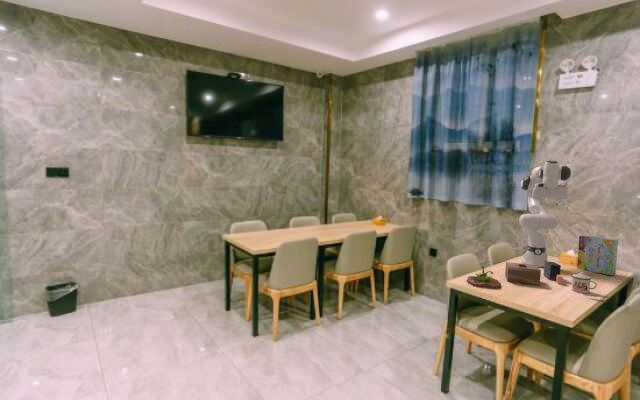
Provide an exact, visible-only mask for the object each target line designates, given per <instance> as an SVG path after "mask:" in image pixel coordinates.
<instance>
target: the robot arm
mask: <svg viewBox="0 0 640 400" xmlns="http://www.w3.org/2000/svg"><path fill="white" fill-rule="evenodd" d="M571 173H572V171H571V168H570V167H568V166H567V165H559V161H558V160H557V161H556V160H546V161H544V165H543V166H536V167H535V168H533V169H532V170H531V175H529V174H528V175H527V176H524V177H523V178H522V179H521V182H520V187H521V189H522V190H523V191H530V192H529V193H528V198H527V206H528V211H529V212H530V213H523V214H521V215H520V216H519V218H518V223H519V225H520V226H521V227H522V228H524V229H525V231H526V233H527V236H528V237H527V238H528V245H527V251H526V252H525V253H523V254H522V255H523V256H522V257H523V258H522V260H521V264H530V265H537V266H538V267H541V268H544V262H545V261H548V262H549V260H548V259H549V258H548V257H549V256H548V254H547V253H546V250H547V248H546V241H547V239H546V236H545V234H542V233H540V232H539V231H538V229H541V230H552V229H556V228H558V226H559V218H558V216H556V215H554V214H552V213H551V212H549V211H548V210H547V207H546V203H545V199H553V200H554V199H555V200H556V199H557V202H555V203H554V205H555V206H559V204H560V203H561V200H567V199H568V191H569V187H568V186H567V185H565V184H564V185H563V184H562V185H561V184H559V181H564V182H565V181H567V180H569V179H570V178H571V175H572V174H571Z"/></svg>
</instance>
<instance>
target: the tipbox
mask: <svg viewBox="0 0 640 400" xmlns="http://www.w3.org/2000/svg"><path fill="white" fill-rule="evenodd" d="M541 271H542V269H540V268H539V267H538V266H537V265H530V264H523V263H519V262H509V261H505V272H504V274H505V275H504V277H505V279H506V282H509V283H513V284H514V283H515V284H521V285H527V286H529V285H530V286H535V287H537V286H538V287H540V286H541V275H542V273H541Z"/></svg>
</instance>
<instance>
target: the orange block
mask: <svg viewBox="0 0 640 400" xmlns="http://www.w3.org/2000/svg"><path fill="white" fill-rule="evenodd" d="M555 283H556V284H557V285H564V284H563V283H564V276H562V275H561V274H560V275H557V277H556V280H555Z"/></svg>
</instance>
